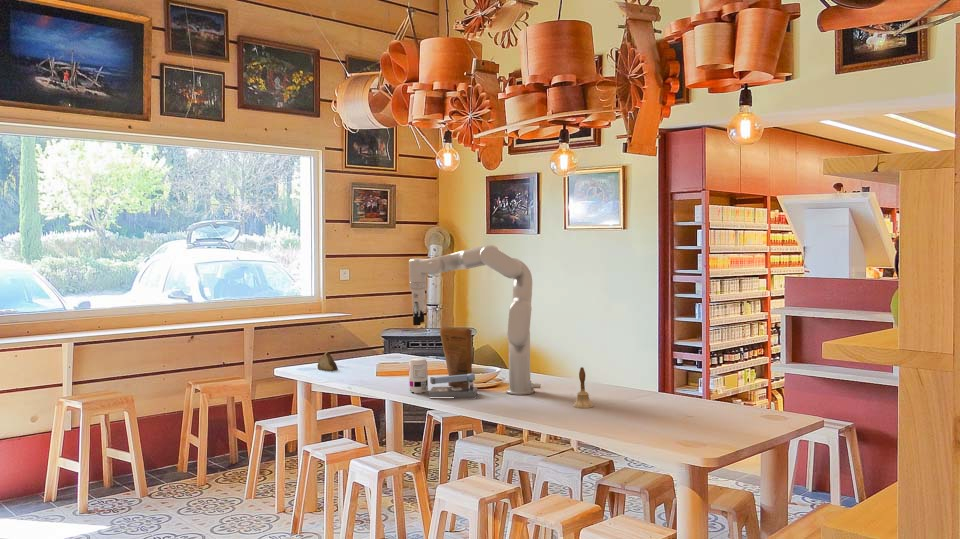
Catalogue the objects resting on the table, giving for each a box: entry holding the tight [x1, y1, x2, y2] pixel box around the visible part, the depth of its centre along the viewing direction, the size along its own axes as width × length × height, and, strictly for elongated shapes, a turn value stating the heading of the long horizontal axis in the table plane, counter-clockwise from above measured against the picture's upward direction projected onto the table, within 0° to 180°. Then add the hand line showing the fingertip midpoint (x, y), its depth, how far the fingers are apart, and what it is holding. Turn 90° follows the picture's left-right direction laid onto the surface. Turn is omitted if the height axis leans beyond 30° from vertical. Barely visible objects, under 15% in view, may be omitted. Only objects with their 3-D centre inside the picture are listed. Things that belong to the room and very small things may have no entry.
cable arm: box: [430, 373, 476, 385], centre depth 343 cm, size 20×4×2 cm, turn 110°
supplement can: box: [408, 357, 429, 394], centre depth 353 cm, size 8×8×15 cm
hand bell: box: [572, 366, 594, 409], centre depth 320 cm, size 8×8×16 cm
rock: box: [316, 351, 339, 371], centre depth 415 cm, size 11×9×10 cm
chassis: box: [428, 381, 478, 399], centre depth 343 cm, size 20×10×6 cm, turn 85°
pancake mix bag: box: [439, 326, 473, 387], centre depth 362 cm, size 7×19×28 cm, turn 45°
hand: (418, 323), depth 351 cm, fingers open, 9 cm apart
